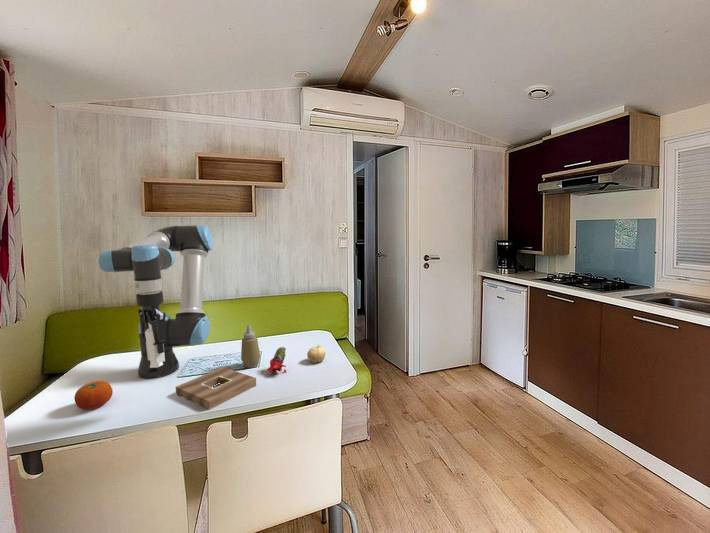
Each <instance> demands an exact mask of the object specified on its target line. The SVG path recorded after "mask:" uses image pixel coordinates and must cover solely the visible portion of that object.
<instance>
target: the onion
mask: <svg viewBox="0 0 710 533" xmlns="http://www.w3.org/2000/svg"><path fill="white" fill-rule="evenodd" d="M325 358H326V351H325V349H324V348H323V347H322V346H321V345H319V344H317V346H313V347H311V348H309V350H308V351H307V359H308V361H310V363H313V364H316V363H318V362H319V363H321V362H323V360H324V359H325Z"/></svg>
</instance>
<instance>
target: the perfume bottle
mask: <svg viewBox="0 0 710 533" xmlns="http://www.w3.org/2000/svg"><path fill="white" fill-rule="evenodd" d="M148 323H149V322H148ZM145 336H146V341H147V347H148V352H149V357H150V362H151V363H150V368H156V367H159V366H161V365H163V363H162V362H161V363H158V364H156V362H155V352H154V345H153V343H155V340H154V336H153V331H152V326H151V324H149V329H147V330H146V331H145Z"/></svg>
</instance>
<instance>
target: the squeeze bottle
mask: <svg viewBox="0 0 710 533" xmlns="http://www.w3.org/2000/svg"><path fill="white" fill-rule="evenodd" d="M252 330H253V329H252V327H251V324H247V326H246V331H245V332H244V333H243V338H242V340H241V350H240V351H241V353H240V354H241V356H240V359H241V361H242V364H243V366H244V367H245V368H255V367H256V366H259V363H260V358H261V353H260V346H259V340H258V337H256V333H255V331H252Z"/></svg>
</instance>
